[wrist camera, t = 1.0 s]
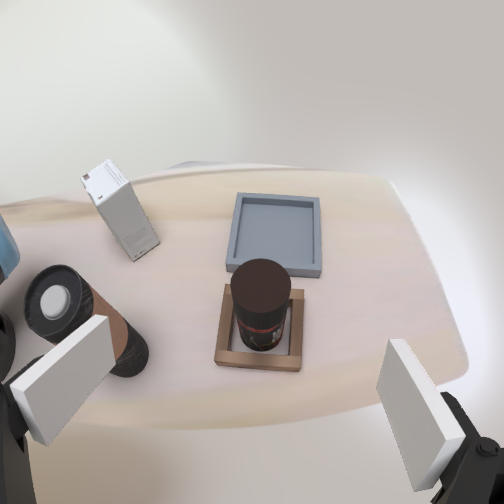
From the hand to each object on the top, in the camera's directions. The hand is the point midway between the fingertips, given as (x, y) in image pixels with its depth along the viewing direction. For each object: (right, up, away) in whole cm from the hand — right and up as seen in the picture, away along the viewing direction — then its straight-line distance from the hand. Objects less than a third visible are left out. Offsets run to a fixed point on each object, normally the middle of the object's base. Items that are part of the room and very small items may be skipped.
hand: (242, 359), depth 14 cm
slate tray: (+4, +7, +38) cm, 39 cm away
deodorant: (+2, -6, +30) cm, 31 cm away
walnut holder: (+2, -6, +30) cm, 31 cm away
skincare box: (-20, +7, +39) cm, 45 cm away
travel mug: (-18, -10, +29) cm, 35 cm away
